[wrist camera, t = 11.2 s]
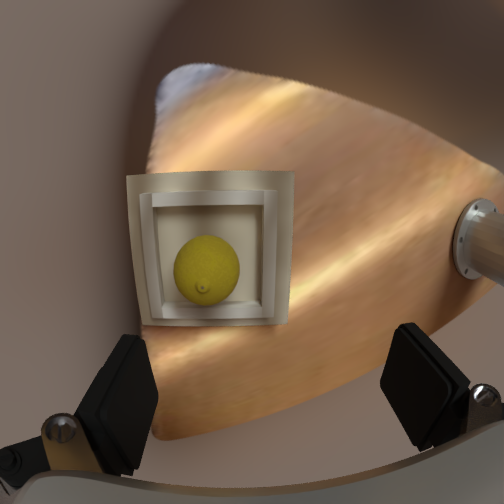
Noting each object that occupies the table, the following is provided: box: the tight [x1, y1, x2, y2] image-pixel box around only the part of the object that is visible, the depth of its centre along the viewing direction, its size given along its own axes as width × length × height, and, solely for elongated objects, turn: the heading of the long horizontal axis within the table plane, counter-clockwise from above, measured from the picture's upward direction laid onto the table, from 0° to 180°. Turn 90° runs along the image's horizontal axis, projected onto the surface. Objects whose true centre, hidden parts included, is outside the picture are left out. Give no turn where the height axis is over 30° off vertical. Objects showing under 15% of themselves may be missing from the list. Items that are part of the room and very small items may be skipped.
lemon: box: [173, 235, 240, 306], centre depth 23 cm, size 6×6×8 cm
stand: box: [127, 171, 294, 326], centre depth 28 cm, size 16×16×4 cm
